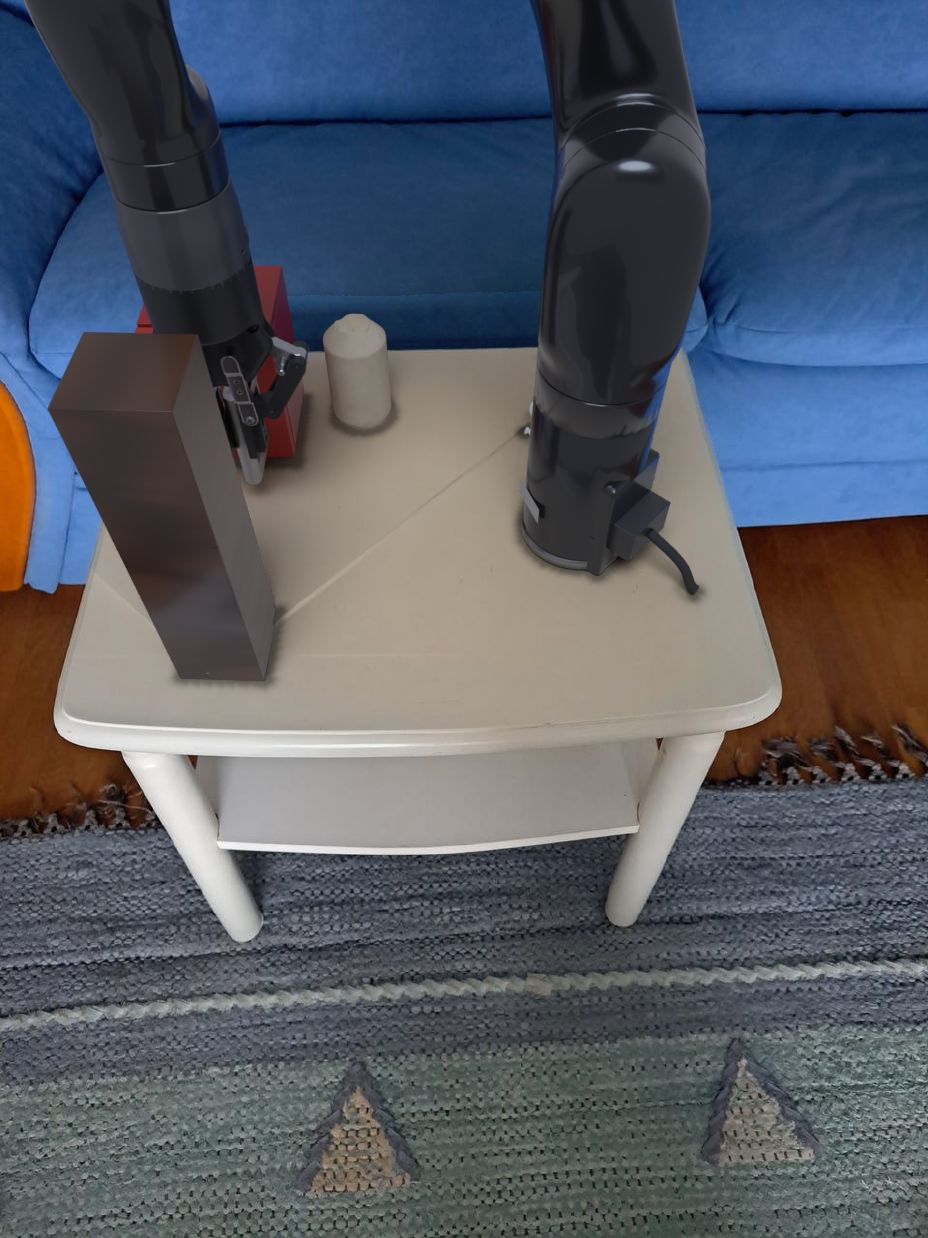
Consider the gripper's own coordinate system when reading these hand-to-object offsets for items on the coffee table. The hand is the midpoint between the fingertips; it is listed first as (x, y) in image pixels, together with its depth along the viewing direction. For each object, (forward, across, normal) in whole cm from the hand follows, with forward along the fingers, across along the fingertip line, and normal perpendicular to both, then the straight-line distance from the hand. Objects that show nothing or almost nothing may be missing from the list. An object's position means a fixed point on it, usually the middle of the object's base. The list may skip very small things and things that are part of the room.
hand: (244, 451), depth 70 cm
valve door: (+7, -3, +3) cm, 8 cm away
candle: (+7, +8, +13) cm, 17 cm away
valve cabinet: (+7, -3, +11) cm, 13 cm away
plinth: (+7, -1, -14) cm, 16 cm away
